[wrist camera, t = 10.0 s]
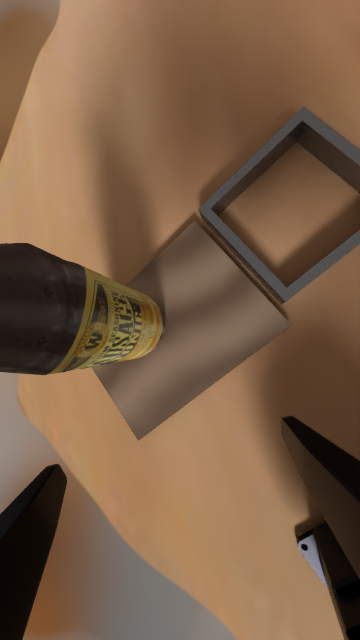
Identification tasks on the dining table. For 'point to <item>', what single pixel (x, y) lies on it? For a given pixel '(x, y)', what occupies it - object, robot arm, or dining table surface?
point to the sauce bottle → (68, 315)
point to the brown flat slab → (190, 330)
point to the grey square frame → (302, 128)
